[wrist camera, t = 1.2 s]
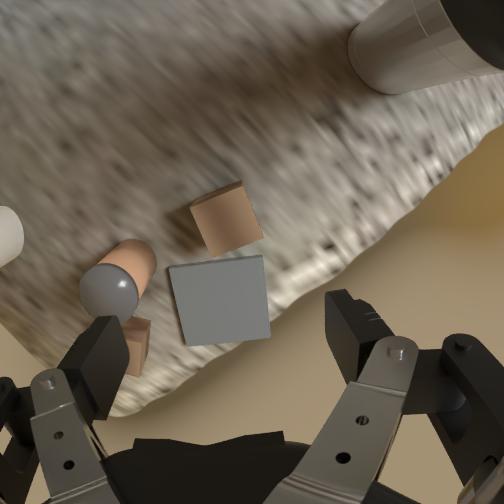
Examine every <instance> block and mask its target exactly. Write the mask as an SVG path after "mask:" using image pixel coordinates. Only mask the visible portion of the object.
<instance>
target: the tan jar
mask: <svg viewBox="0 0 504 504" xmlns="http://www.w3.org/2000/svg"><path fill="white" fill-rule="evenodd" d="M156 265H157V262H156V257H155V254H154V252H153V250H152V249H151V248H150V247H149V245H147V244H146V243H145V242H143V241H141V240H138V239H127V240H124V241H122V242H121V243H119V244H118V245H117V246H116V247H115V248H114V249H113V250H112V251H111V252H110V253H108V254H107V255H106V256H105V257H104V258H103V259H102V260H101V261H100V262H99V263H98V264H97V265H94V266H93V267H91V268H90V269H89V270H88V271H87V272H86V273H85V274H84V275H83V276H82V278H81V280H80V283H79V297H80V301H81V303H82V305H83V307H84V308H85V310H86V311H87V312H88V314H89V315H91V316H92V317H93V318H94V319H96V318H97V317H98V316H109V315H116V316H117V317H118V319H119V321H120V324H122V323H124V322H126V321H127V320H128V319H130V317H131V316H132V315H133V313H134V311H135V309H136V308H137V305H138V301H139V299H140V297H141V295H142V293H143V292H144V290H145V288H146V287H147V285H148V283H149V281H150V280H151V278H152V276H153V274H154V273H155V270H156Z"/></svg>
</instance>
